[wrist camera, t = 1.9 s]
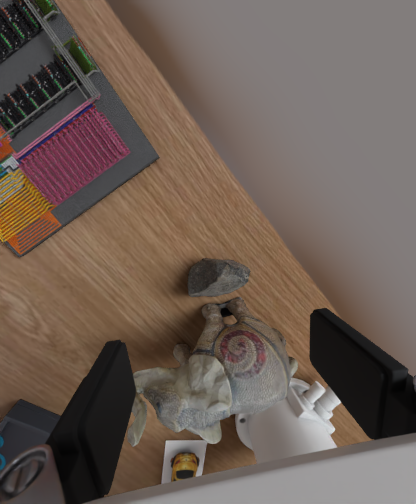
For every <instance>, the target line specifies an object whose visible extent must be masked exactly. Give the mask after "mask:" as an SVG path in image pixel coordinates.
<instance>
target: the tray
mask: <svg viewBox="0 0 416 504" xmlns="http://www.w3.org/2000/svg"><path fill="white" fill-rule="evenodd" d="M60 417H61V416H59V415H57V414H54V413H52V412H50V411H47V410H45V409H42V408H40V407H38V406H35V405H33V404H31V403H28V402H26V401H23V400H21V399H20V400H19V401H18V402H17V403H16V404H15V406H14V407H13V408H12V409H11V410H10V411H9V412H8V414H7V415H6V416H5V417H4V419H3V420H2V422H1V423H0V436H2V437H3V440H4V442H3V445H2V447H1V448H0V454H1V455H2V456H3V457H4V458H5V460H6V464H5V466H6V465H7V464H8V463H9V462H10V461H11V460H13V459H14V458H15V457H16V456H18V455H19V454H20V453H22V452H23V451H25V450H27V449H28V448H30V447H33V446H36V445H39V444H45V442H46V441H47V439H48V437H49V436H50V434H51V432H52V431H53V429H54V427H55V426H56V424H57V422H58V421H59V419H60ZM1 465H2V460H1V459H0V466H1ZM5 466H4V467H5ZM4 467H3V468H4ZM1 470H2V469H1ZM1 470H0V472H1Z"/></svg>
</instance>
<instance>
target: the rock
mask: <svg viewBox="0 0 416 504" xmlns="http://www.w3.org/2000/svg"><path fill="white" fill-rule="evenodd" d="M249 273H250V269H249V268H248V267H246V266H244V265H243V264H240V263H237V262H235V261H234V260H215V259H208V258H204V259H202V260H201V261H200V262H198V263H196V264H195V265H194V266H193V267H192V268H191V270H190V271H189V276H188V293H189V296H190V297H198V296H211V297H212V296H214V297H215V296H219V295H223V294H228V293H231V292H233V291H235V290H237V289H239V288H240V287H242V286H244V285H245V284H246V283H247V282H248V277H249Z"/></svg>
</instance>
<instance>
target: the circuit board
mask: <svg viewBox="0 0 416 504" xmlns="http://www.w3.org/2000/svg"><path fill="white" fill-rule="evenodd" d="M159 158H160V157H159V156H158V154H157V153H156V151H155V150H154V148H153V147H152V145H151V144H150V142H149V141H148V139H147V138H146V136H145V135H144V134H143V132H142V131H141V129H140V128H139V126H138V125H137V123H136V122H135V120H134V119H133V117H132V116H131V114H130V113H129V111H128V110H127V108H126V107H125V105H124V104H123V102H122V101H121V99H120V98H119V96H118V95H117V93H116V92H115V90H114V89H113V87H112V86H111V85H110V83H109V82H108V80H107V79H106V77H105V76H104V74H103V73H102V71H101V70H100V68H99V67H98V65H97V64H96V62H95V61H94V59H93V58H92V56H91V55H90V53H89V52H88V50H87V49H86V47H85V46H84V44H83V43H82V41H81V40H80V38H79V37H78V36H77V34H76V33H75V31H74V30H73V28H72V27H71V25H70V24H69V22H68V21H67V19H66V18H65V16H64V15H63V13H62V12H61V10H60V9H59V7H58V6H57V4H56V3H55V1H54V0H0V240H1V241H2V242H4V243H5V244H6V245H7V246H8V247H9V248H10V249H11V250H12V251H13V252H14V253H15V254H16V255H17V256H18V257H21V256H24V255H25V254H27V253H28V252H29V251H31V250H32V249H34V248H35V247H36V246H38V245H39V244H41V243H42V242H43V241H45V240H46V239H48V238H49V237H50V236H52V235H53V234H54V233H56V232H57V231H59V230H60V229H61V228H63V227H64V226H66V225H67V224H68V223H70V222H71V221H73V220H74V219H75V218H77V217H78V216H79V215H81V214H82V213H84V212H85V211H86V210H88V209H89V208H91V207H92V206H93V205H95V204H96V203H98V202H99V201H100V200H102V199H103V198H104V197H106V196H107V195H109V194H110V193H111V192H113V191H114V190H116V189H117V188H118V187H120V186H121V185H123V184H124V183H125V182H127V181H128V180H129V179H131V178H132V177H134V176H135V175H136V174H138V173H139V172H141V171H142V170H143V169H145V168H146V167H148V166H149V165H150V164H152V163H153V162H154V161H156V160H157V159H159Z"/></svg>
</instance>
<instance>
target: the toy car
mask: <svg viewBox="0 0 416 504" xmlns="http://www.w3.org/2000/svg"><path fill="white" fill-rule="evenodd" d="M206 446H207V442H206V441H205V440H166V444H165V454H164V463H163V472H162V482H161V484H164V483H169V482H174V481H178V480H183V479H188V478H192V477H197V476H202V471H203V464H204V458H205V452H206Z"/></svg>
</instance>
